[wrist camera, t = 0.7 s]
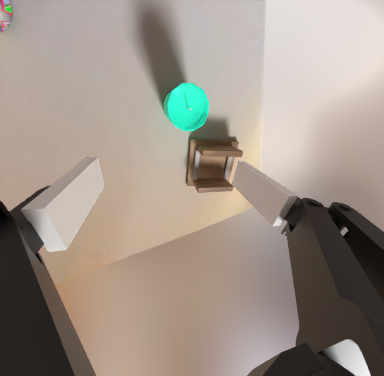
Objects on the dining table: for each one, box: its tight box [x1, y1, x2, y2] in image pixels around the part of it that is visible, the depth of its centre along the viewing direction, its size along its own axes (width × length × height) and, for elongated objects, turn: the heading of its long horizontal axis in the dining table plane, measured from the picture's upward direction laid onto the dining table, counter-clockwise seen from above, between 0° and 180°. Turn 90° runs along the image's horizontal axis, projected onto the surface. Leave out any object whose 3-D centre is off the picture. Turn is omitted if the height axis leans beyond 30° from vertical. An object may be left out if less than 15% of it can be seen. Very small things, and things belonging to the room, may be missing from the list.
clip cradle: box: [187, 139, 243, 193], centre depth 34 cm, size 12×12×6 cm
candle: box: [163, 83, 209, 131], centre depth 23 cm, size 6×6×12 cm
